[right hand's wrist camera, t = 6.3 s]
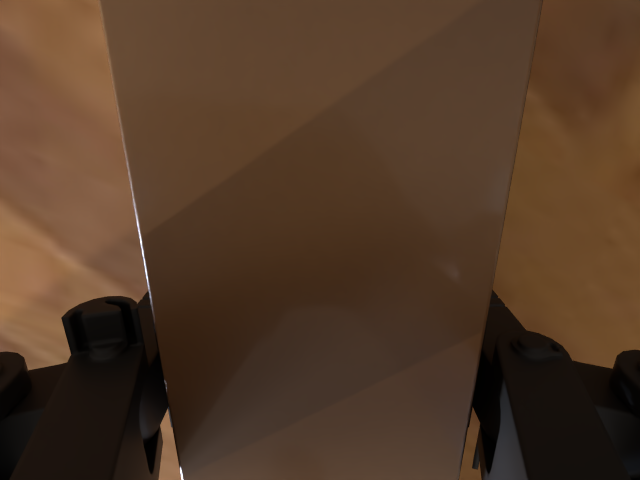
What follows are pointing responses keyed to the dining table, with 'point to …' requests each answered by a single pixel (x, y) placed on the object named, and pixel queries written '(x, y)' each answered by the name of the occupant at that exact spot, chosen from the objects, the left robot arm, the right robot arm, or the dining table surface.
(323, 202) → the post
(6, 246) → the dining table surface
